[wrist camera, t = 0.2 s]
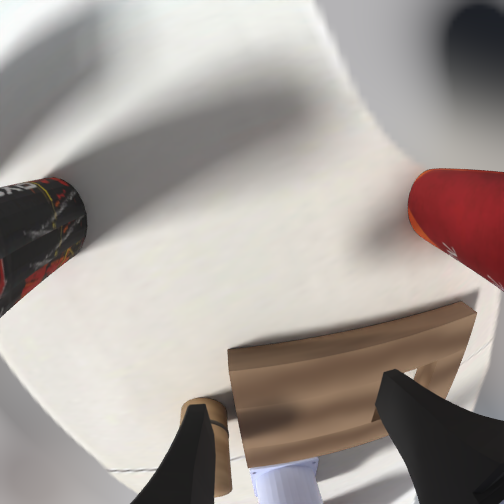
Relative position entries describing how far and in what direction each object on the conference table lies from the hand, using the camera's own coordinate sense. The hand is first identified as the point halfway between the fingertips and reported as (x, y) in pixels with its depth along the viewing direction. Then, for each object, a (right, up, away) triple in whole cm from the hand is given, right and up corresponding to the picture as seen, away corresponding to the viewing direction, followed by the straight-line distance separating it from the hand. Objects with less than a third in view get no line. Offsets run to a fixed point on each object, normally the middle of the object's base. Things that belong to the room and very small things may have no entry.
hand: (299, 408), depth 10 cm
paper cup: (+12, +10, +9) cm, 18 cm away
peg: (-6, -8, +12) cm, 16 cm away
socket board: (+8, -6, +13) cm, 17 cm away
